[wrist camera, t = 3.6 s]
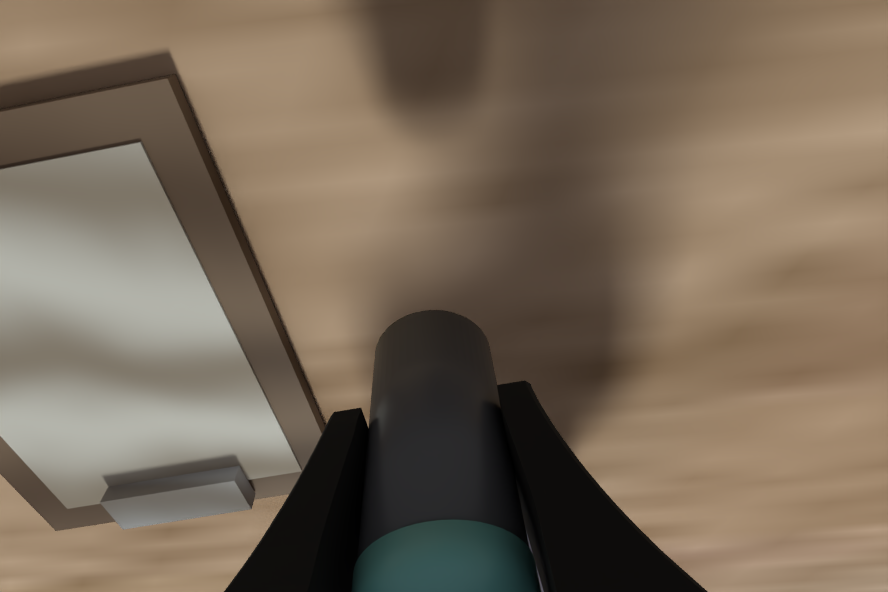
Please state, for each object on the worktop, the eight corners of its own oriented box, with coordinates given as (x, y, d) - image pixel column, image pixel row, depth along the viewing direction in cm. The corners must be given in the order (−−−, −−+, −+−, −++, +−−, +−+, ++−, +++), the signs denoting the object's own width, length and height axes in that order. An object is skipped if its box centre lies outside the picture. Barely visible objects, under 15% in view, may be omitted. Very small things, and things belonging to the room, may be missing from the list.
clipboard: (345, 474, 25) (341, 502, 24) (62, 519, 26) (45, 548, 25) (175, 74, 15) (154, 85, 14) (-274, 163, 16) (-332, 182, 15)
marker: (498, 391, 15) (556, 683, 9) (388, 409, 15) (374, 708, 9) (483, 298, 13) (543, 584, 7) (360, 320, 13) (319, 616, 7)
